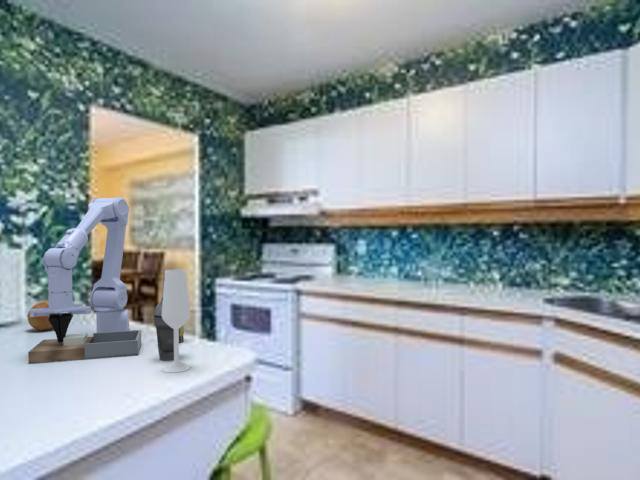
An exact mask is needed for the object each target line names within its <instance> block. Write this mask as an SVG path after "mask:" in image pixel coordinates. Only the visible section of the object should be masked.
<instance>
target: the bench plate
mask: <svg viewBox="0 0 640 480" xmlns="http://www.w3.org/2000/svg"><path fill="white" fill-rule="evenodd" d="M87 343H93V336H87V341H86V343H85V344H87ZM85 344H82V345H68V346H64V343H63V342H60V343H58V340H57V338H51V339H43V340H41V341H40V342H38V344H36V345H35V346H34V347H33V348H31V349H30V350H29V351H28V352H27V353H28V355H27V356H28V357H27V358H28V365H30V364H42V363H43V364H44V363H53V362H54V363H55V361H57V362H67V361H66V360H70V361H78V360H79V361H82V360H86V359H85Z"/></svg>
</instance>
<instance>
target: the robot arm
mask: <svg viewBox="0 0 640 480" xmlns="http://www.w3.org/2000/svg"><path fill="white" fill-rule="evenodd" d="M87 206H88V210H87V212H86V214H85V215H84V216H83V218H81V221H80V222H79V223H78V225H77V226H76V228H75V227H74V228H70V229H66V231H65V234H64V235H63V237H62V238H61V239H59V241H58V242H57V243H56V245H55V246H54V247H52V248H51V247H50V248H49V249H48V250H47V251H45V252H44V255H43V258H41V261H42V264H43V267H45V273H46V275H47V278H48V279H47V281H48V283H47V284H48V285H47V286H48V301H49V308H39V309H31V308H30V309H31V310H30V309H29V311H30V317H35V316H49V319H48V320H49V322H50V323H51V325H52V327H53V328H52V329H53V330H54V333H55V335H56V339H57V340H58V343H60V342H63V338H64V337H65V336H66V335H67V332H68V328H69V326H70V323H71V321H72V319H73V318H74V315H91V313H92V309H91V308H93V311H94V312H95V313H96V314H95V315H96V316H95V317H96V333H103V332H118V331H131V330H130V329H131V328H130V315H129V314H130V311H129V309H124V308H125V307H126V305H127V302H128V293H127V291H128V286H127V285H126V284H125V283H124V282H123V281H122V280H121V274H122V273H121V272H122V264H123V255H124V249H125V246H124V245H125V240H126V232H127V231H126V230H127V225H128V221H129V213H130V206H129V205H128V203H127V200H126V199H125V198H124V197H121V196H119V197H94V198H93V199H92V200H91V202H89V204H88V205H87ZM99 223H100V224H101V225H102V226H104V227H105V228H106V230H107V232H106V239H105V247H104V256H103V263H102V270H101V278H100V279H98V280H97V281H96V282H94V284H93V288H92V291H91V293H90V296H89V303H90V305H89V306H88V305H87V306H83V305H82V306H80V305H79V306H78V305H77V306H76V305H74V304H73V302H74V301H73V300H74V298H73V268H74V267H75V266H76V265H77V263H78V257H79V255H80V252H81V251H82V249H83V248H84V247H85V246H86V244H87V243H88V241H89V234H90V233H91V232H92V231H93V230H94V228H95V227H96V226H97V225H98V224H99Z"/></svg>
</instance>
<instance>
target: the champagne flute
mask: <svg viewBox="0 0 640 480" xmlns="http://www.w3.org/2000/svg"><path fill="white" fill-rule="evenodd" d="M186 271H187V270H186V269H166V270H164V277H165V279H164V278H163V283H164V291H162V292H163V293H162V294H163V295H162V297H163V303H162V315H161V316H162V319H163V320H164V322H165V323H166V324H167V325H168V326H170V327H171V328H173V329H174V360H172V362H170V363H169V364H167V365H165V367H164V366H163V368H162V371H163V372H166V373H180V372H185V371H188V370H190V369H191V368H190V366H191V365H189V364H187V363H185V362H183V361H181V359H180V344H179V343H180V342H179V328H180V327H182V326H183V327H184V325H185V324H186V323H187V322H188V320H189V319H190V317H191V309H190V300H189V292H188V291H189V290H188V281H187V272H186Z"/></svg>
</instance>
